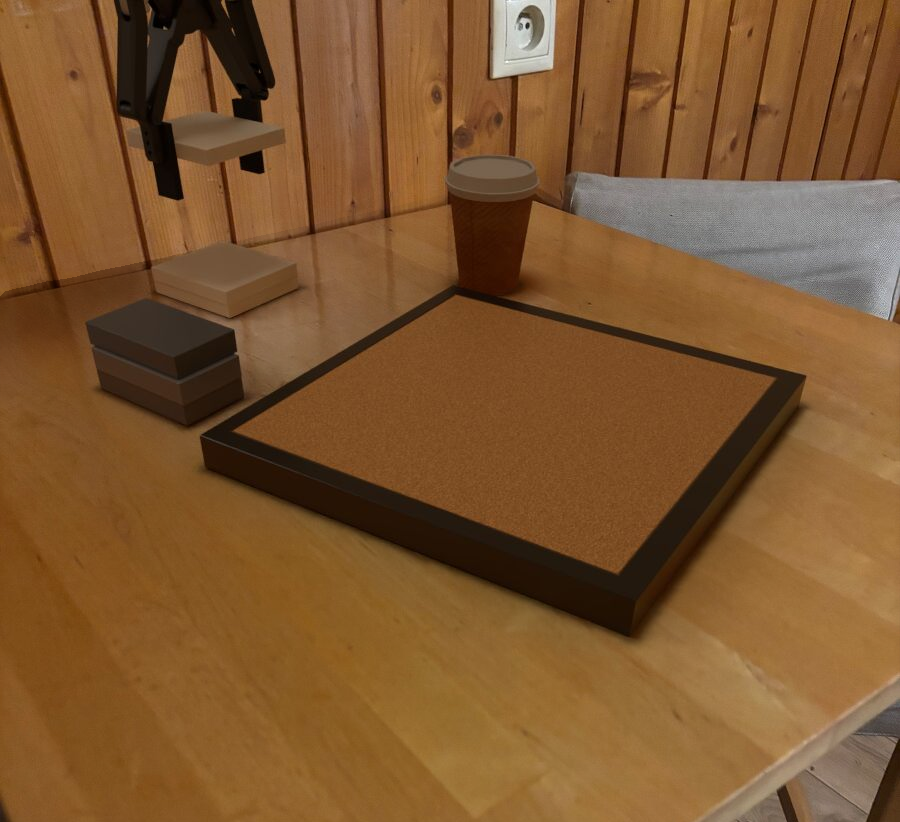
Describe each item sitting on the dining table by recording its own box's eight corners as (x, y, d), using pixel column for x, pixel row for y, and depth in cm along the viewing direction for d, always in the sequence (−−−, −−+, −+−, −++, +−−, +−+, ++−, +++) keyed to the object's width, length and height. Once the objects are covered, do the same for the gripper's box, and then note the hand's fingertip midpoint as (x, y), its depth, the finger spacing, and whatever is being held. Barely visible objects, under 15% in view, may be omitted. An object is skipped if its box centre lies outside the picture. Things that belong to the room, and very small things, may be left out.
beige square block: (154, 292, 98) (149, 266, 96) (226, 264, 104) (222, 239, 103) (229, 319, 93) (225, 292, 91) (300, 288, 99) (297, 262, 98)
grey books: (97, 388, 82) (80, 322, 78) (158, 360, 86) (146, 297, 82) (187, 428, 76) (174, 360, 73) (248, 396, 81) (239, 330, 77)
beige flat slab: (128, 146, 89) (125, 130, 88) (207, 125, 95) (205, 110, 94) (208, 166, 84) (206, 149, 83) (286, 143, 90) (284, 127, 90)
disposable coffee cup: (499, 262, 106) (504, 148, 98) (550, 290, 100) (560, 171, 92) (427, 279, 102) (426, 161, 94) (476, 309, 96) (479, 186, 88)
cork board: (205, 467, 72) (629, 636, 58) (199, 434, 70) (636, 601, 56) (452, 312, 95) (798, 405, 81) (452, 284, 93) (807, 375, 79)
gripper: (88, -89, 69) (148, 221, 83) (299, -103, 83) (319, 164, 97) (26, -94, 72) (94, 205, 87) (239, -106, 87) (267, 152, 101)
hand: (213, 183), depth 92 cm, fingers closed on beige flat slab, 10 cm apart
